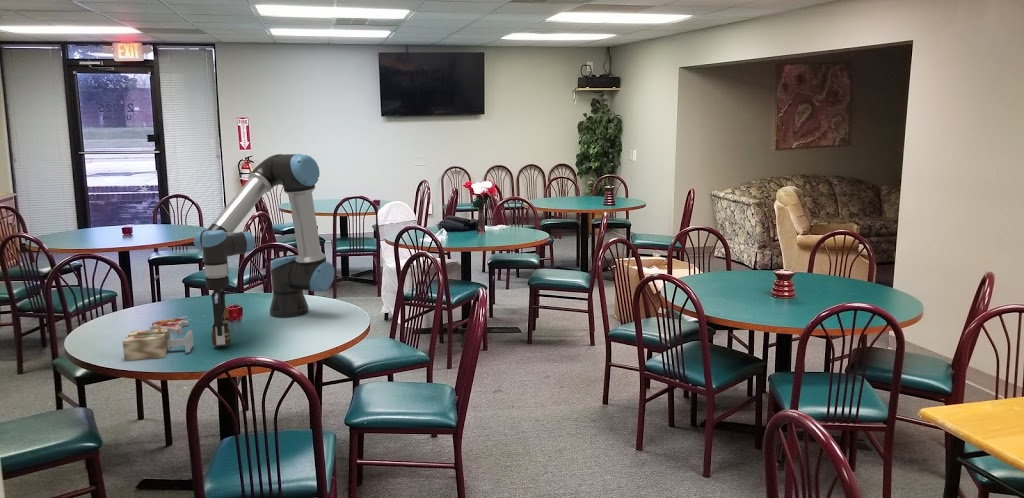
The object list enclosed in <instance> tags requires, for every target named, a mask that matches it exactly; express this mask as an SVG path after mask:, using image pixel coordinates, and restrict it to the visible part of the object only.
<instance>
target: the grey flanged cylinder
mask: <svg viewBox="0 0 1024 498" xmlns="http://www.w3.org/2000/svg"><path fill="white" fill-rule="evenodd" d="M158 334H161V325H158ZM165 341H166V347H170V348H174V347H184V352H185V353H186V354H187V353H190V352H191V350H192V348H193V346H194V338H193V330H192V329H189V330H187V332H186V334H185V335H184V337H180V338H177V337H176V338H170V339H165Z"/></svg>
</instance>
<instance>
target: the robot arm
mask: <svg viewBox="0 0 1024 498" xmlns="http://www.w3.org/2000/svg"><path fill="white" fill-rule="evenodd" d="M247 178H248V180H247V181H246V182H245V183H244V185H243V186H242V187H241V188H240V189H239V191H238V192H237V193H236V195H235V196H234V197H233V198H232V199H231V200H230V202H229V203H228V204H227V205H226V206H225V207H224V209H223V210H222V211H221V212H220V214H219V215H218V216H217V217H216V218H215V220H214V221H213V222H212V223H211V225H210V226H209V227H208V228H207V229H203V230H199V231H197V232H196V233H195V235H194V238H193V244H194V247H195V248H196V250H198V251H201V252H202V255H203V265H204V266H203V267H202V270H203V271H204V276H205V278H204V281H205V288H206V289H208V290H212V293H211V301H212V312H213V314H212V315H214V316H213V321H214V323H213V324H212V326H213V327H215V331H216V344H217V345H225V334H224V325H223V323H224V317H223V314H224V308H225V309H226V310H227V308H226V299H225V296H226V291H225V289H226V288H228V287H230V277H229V272H230V271H229V262H228V257H232V256H237V255H242V254H243V255H245V254H246V253H250V252H252V251H253V250H254V249H255V246H256V238H255V237H254V234H252V233H251V232H249V231H239V232H235V231H236V229H237V228H238V227H239V226H240V224H241V223H242V222H243V221H244V219H245V218H246V217H247V216H248V215H249V214H250V212H251V210H252V209H253V208H254V207H255V206H256V205H257V203H258V202H259V201H260V199H261V198H262V197H263V196H264V194H265V193H269V192H271V190H272V189H273V188H274V187H277V186H279V185H281V186H282V187H283V191H284V193H285V194H287V196H288V197H289V204H290V209H291V217H292V222H293V227H294V234H295V241H296V246H297V254H298V255H297V254H296V255H289V256H284V257H283V256H282V257H277V258H275V259H272V261H271V268H270V269H271V270H270V271H271V282H272V283H271V284H272V300H271V304H270V306H269V307H270V308H269V315H270V316H271V317H275V318H292V317H300V316H303V315H306V314H308V313H309V312H310V311H309V305H308V302H307V300H306V296H305V295H304V291H311V292H325V291H326V290H327V289H329V288H330V286H331V285H332V284H333V281H334V279H335V268H334V265H332V264H331V262H329V261H327V257H326V254H325V253H323V252H322V250H321V243H320V237H319V231H318V225H317V218H316V211H315V203H314V199H313V198H314V197H313V192H314V190H315V189H316V184H317V183H318V182H319V178H320V167H319V165H318V163H317V161H316V159H314V158H313V157H312V156H311V155H308V154H301V153H292V154H291V153H289V154H288V153H287V154H285V153H284V154H282V153H279V154H278V153H277V154H274V155H273V154H272V155H270V156H269V157H267V158H265V159H264V160H262V161H261V162H259V164H258V165H257V166H255V168H253V170H252V171H251V172H250V173H249V174H248V177H247ZM228 320H229V317H228V316H227V318H226V319H225V323H227V321H228Z"/></svg>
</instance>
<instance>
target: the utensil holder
mask: <svg viewBox="0 0 1024 498" xmlns="http://www.w3.org/2000/svg"><path fill="white" fill-rule="evenodd" d="M225 308H226V307H225ZM225 308H224V314H223V317H224V323H223V325H224V334H225V345H217V344H216V331H215V327H213V325H211V326H212V327H211V328H212V331H211V341H212V345H213V346H214V347H225V346H226V347H227V346H228V345H230V344H231V342H232V341H231V331H230V328H229V326H230V325H229V323H227V322H226V323H225V321H226V320H225V319H226V318H227V317H228V311H229V308H226V309H225ZM211 318H214V314H212V315H211ZM212 324H214V320H212Z"/></svg>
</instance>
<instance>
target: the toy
mask: <svg viewBox="0 0 1024 498" xmlns="http://www.w3.org/2000/svg"><path fill="white" fill-rule="evenodd" d="M184 318H188V315H183V316H180V317H178V318H169V319H168V318H167V319H159V320H155V321H154V322H152V323H151V326H150V325H149V330H154V329H158V325H161V329H167V328H169V331H170V334H173V335H174V334H175V335H178V336H179V335H180V336H181V334H182V335H183V329H182V328H183V326H184V327H186V326H189V320H186V319H184Z"/></svg>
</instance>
